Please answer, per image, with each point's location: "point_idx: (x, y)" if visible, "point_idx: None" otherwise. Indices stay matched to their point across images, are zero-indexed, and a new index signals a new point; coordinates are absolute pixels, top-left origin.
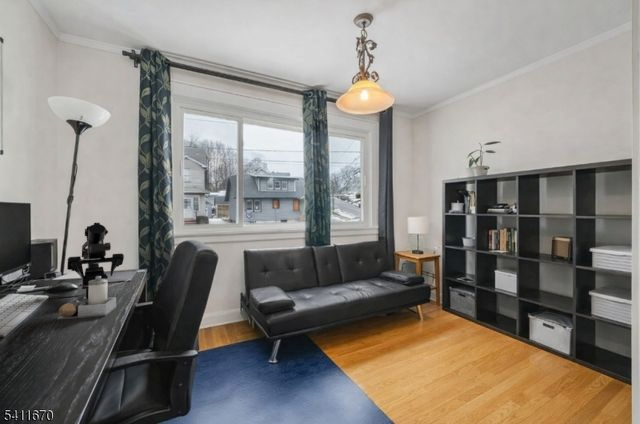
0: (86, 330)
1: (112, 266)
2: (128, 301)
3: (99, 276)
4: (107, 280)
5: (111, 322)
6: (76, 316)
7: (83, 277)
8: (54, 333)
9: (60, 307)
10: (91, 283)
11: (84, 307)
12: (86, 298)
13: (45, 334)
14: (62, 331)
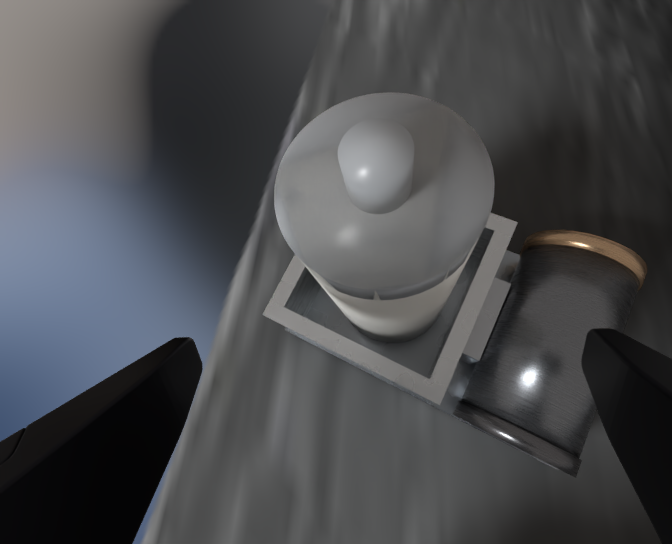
0: (445, 48)
1: (22, 458)
2: (193, 455)
3: (360, 153)
4: (281, 174)
5: (343, 94)
6: (506, 251)
7: (603, 328)
8: (577, 78)
9: (644, 265)
10: (456, 122)
11: None
12: (471, 421)
13: (616, 85)
14: (545, 86)
